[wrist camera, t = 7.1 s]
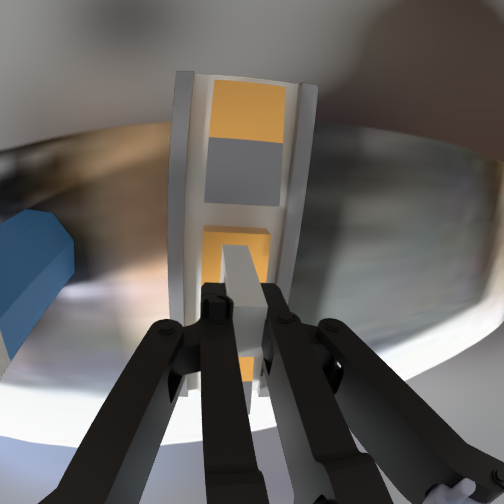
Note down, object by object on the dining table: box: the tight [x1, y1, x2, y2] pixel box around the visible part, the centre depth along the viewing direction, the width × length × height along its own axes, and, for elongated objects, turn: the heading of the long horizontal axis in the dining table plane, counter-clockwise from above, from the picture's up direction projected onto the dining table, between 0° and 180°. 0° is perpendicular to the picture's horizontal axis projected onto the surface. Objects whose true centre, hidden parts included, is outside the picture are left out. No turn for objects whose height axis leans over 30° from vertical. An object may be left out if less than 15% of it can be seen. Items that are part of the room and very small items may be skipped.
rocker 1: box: [204, 80, 286, 207], centre depth 19 cm, size 5×8×2 cm, turn 175°
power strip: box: [167, 71, 318, 397], centre depth 26 cm, size 10×30×5 cm, turn 175°
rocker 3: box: [238, 357, 254, 414], centre depth 26 cm, size 5×8×2 cm, turn 174°
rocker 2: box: [201, 225, 271, 287], centre depth 22 cm, size 5×8×2 cm, turn 174°
